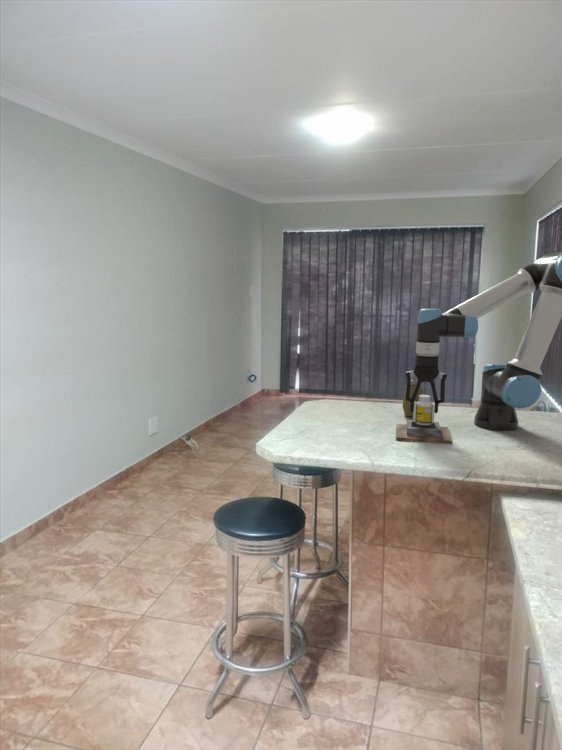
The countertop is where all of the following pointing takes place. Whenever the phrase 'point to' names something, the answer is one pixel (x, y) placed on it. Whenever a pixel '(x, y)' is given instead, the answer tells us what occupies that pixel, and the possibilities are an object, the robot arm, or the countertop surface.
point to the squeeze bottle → (407, 403)
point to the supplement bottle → (424, 410)
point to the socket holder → (423, 433)
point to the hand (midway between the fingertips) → (423, 421)
